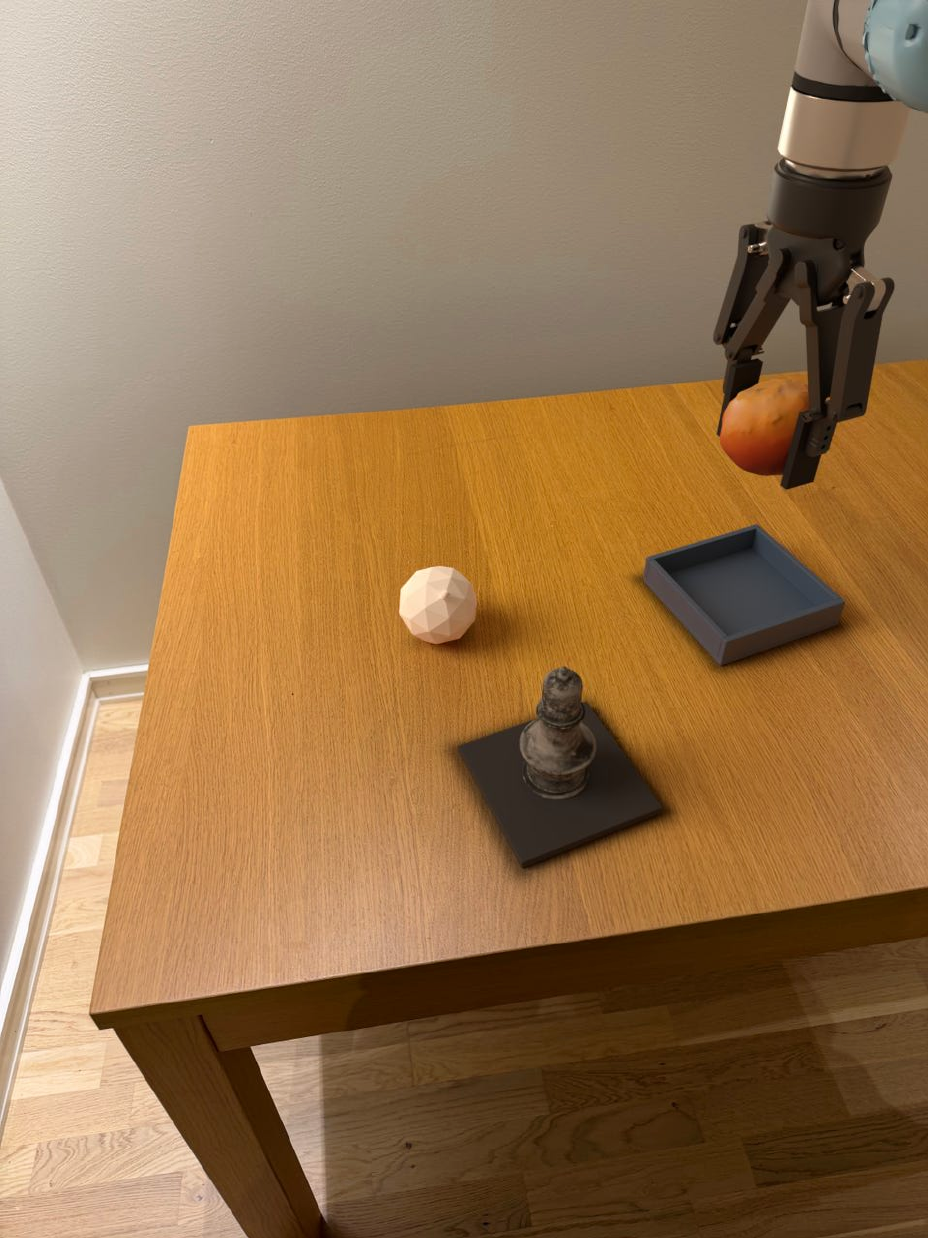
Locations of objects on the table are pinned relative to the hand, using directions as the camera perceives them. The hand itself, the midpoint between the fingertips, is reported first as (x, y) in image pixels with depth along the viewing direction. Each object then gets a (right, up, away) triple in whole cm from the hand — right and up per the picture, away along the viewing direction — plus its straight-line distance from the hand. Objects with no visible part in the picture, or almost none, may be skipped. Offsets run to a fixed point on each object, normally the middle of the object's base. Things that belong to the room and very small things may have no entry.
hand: (763, 456), depth 74 cm
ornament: (-27, -15, +10) cm, 33 cm away
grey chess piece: (-18, -26, -4) cm, 32 cm away
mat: (-18, -26, -3) cm, 32 cm away
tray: (+2, -12, +12) cm, 17 cm away
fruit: (0, 0, 0) cm, 0 cm away
